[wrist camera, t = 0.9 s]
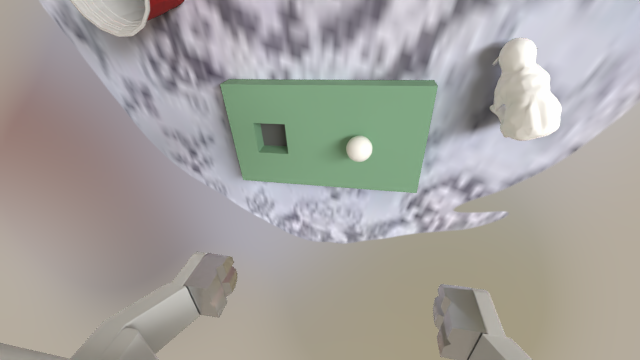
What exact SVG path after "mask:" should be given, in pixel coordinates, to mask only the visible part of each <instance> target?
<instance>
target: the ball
mask: <svg viewBox="0 0 640 360" xmlns="http://www.w3.org/2000/svg"><path fill="white" fill-rule="evenodd" d="M346 151H347V155H348V156H349V158H350V159H352V160H353V161H356V162H362V161H365V160H367V159H368V158H369V157H370V155H371V154H372V144H371V142H370V140H369V139H368V138H366V137H364V136H355V137H353V138H351V139H350V140H349V142H348V143H347V146H346Z"/></svg>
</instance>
